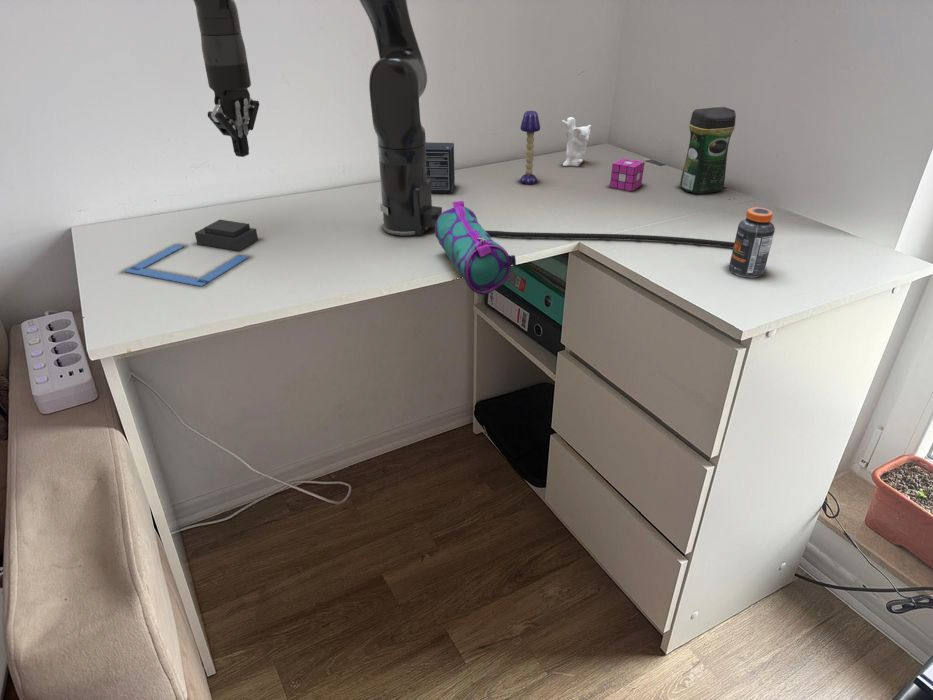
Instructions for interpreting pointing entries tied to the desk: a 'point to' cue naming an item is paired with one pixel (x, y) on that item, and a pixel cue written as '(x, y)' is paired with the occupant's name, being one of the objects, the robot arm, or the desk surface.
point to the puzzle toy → (627, 174)
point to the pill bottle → (752, 243)
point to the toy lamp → (529, 144)
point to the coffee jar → (708, 149)
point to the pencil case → (473, 249)
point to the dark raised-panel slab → (227, 235)
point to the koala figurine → (576, 142)
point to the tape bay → (177, 278)
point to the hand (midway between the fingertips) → (242, 155)
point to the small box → (440, 167)
